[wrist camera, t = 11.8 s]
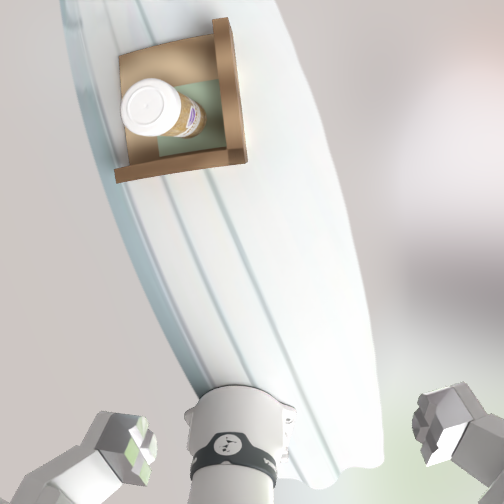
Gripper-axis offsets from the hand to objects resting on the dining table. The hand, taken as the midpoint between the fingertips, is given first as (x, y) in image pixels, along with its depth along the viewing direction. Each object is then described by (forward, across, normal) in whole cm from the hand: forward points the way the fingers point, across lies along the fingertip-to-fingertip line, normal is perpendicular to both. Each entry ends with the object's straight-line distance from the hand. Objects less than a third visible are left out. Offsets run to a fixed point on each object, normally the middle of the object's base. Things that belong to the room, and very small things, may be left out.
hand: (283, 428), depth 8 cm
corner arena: (+31, +9, -14) cm, 35 cm away
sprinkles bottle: (+30, +8, -12) cm, 33 cm away
